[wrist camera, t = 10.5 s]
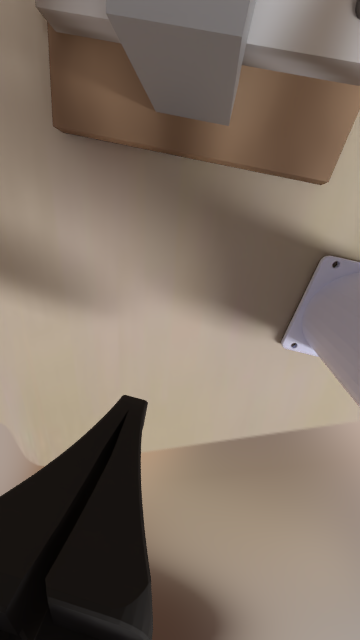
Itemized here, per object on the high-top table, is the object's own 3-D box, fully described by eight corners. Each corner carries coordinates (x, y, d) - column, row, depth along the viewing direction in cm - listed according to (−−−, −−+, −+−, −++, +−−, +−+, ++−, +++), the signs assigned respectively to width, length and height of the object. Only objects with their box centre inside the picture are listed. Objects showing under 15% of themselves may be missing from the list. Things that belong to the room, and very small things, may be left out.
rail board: (462, -156, 9) (562, -307, 6) (320, 184, 14) (343, 176, 11) (50, -205, 9) (-7, -354, 7) (63, 132, 15) (32, 113, 12)
